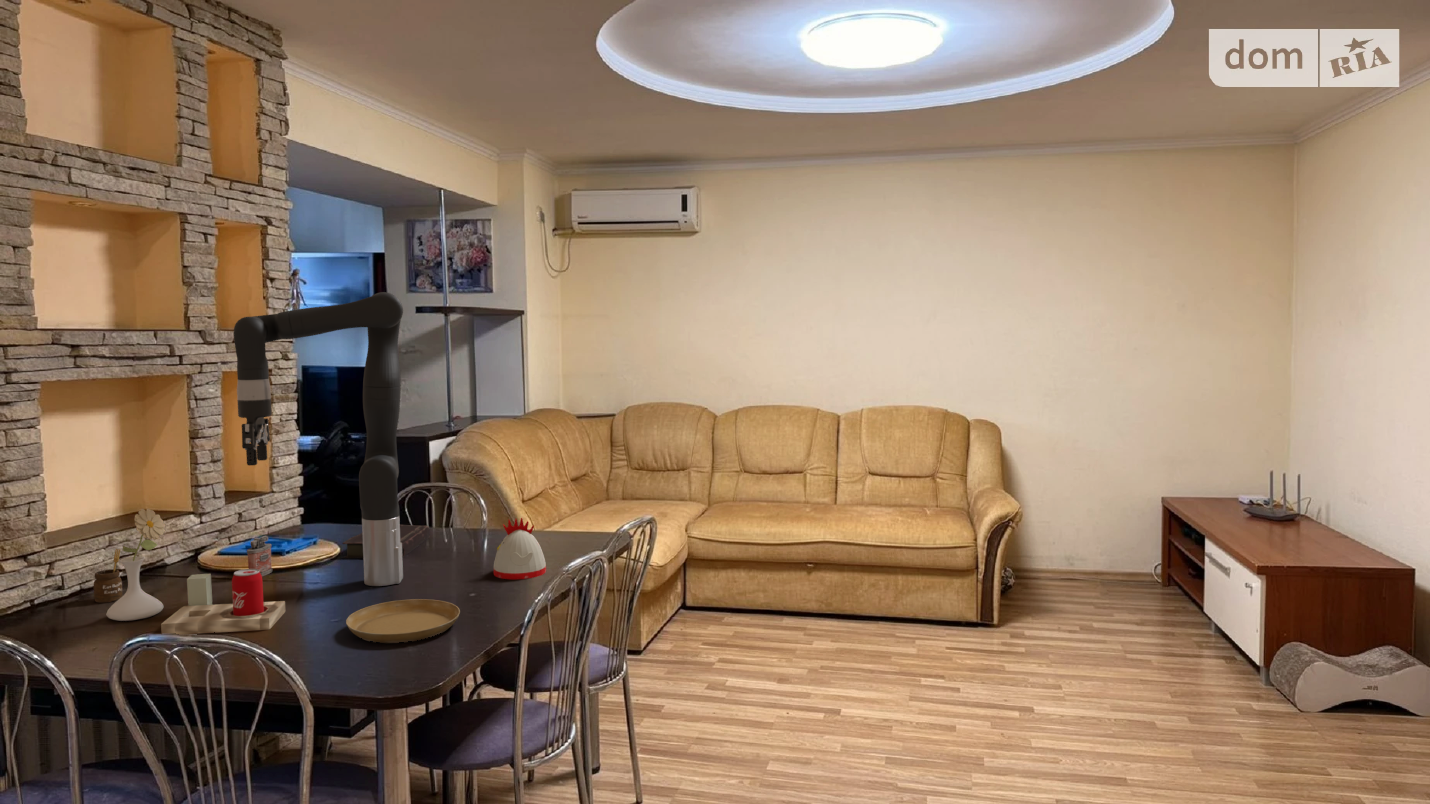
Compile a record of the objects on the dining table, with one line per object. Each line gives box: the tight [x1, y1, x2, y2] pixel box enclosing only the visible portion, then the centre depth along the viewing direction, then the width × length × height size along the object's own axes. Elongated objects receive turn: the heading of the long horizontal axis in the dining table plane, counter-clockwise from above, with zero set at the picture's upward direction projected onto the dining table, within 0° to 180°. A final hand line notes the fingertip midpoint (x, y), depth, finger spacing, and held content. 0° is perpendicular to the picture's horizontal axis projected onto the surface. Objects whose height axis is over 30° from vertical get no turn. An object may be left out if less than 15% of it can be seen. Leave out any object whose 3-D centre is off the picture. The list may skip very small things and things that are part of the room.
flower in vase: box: [105, 508, 166, 622], centre depth 223 cm, size 13×11×25 cm
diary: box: [342, 524, 431, 559], centre depth 289 cm, size 19×25×5 cm
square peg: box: [186, 573, 213, 606], centre depth 225 cm, size 4×4×9 cm
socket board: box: [160, 600, 286, 635], centre depth 217 cm, size 22×13×3 cm, turn 100°
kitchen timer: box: [493, 517, 547, 580], centre depth 260 cm, size 14×14×15 cm
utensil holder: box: [92, 548, 123, 604], centre depth 237 cm, size 6×6×12 cm
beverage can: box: [231, 568, 265, 616], centre depth 218 cm, size 6×6×12 cm
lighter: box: [246, 535, 273, 577], centre depth 259 cm, size 8×3×10 cm, turn 168°
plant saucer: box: [345, 598, 461, 644], centre depth 214 cm, size 24×24×3 cm
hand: (257, 462), depth 239 cm, fingers open, 8 cm apart
